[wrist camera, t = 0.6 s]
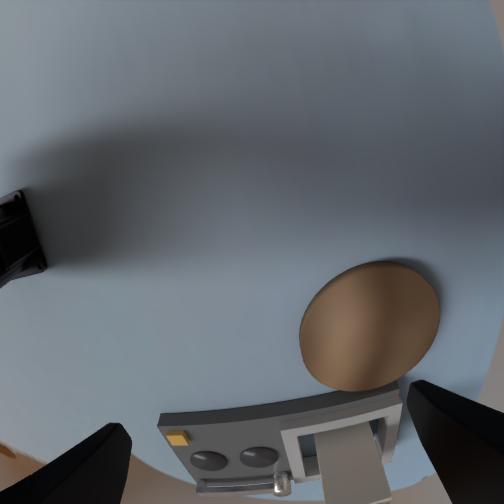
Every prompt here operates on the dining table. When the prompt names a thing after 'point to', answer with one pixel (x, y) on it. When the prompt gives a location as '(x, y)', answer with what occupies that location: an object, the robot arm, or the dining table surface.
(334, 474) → the white carton with cap
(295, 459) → the grey control panel
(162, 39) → the dining table surface
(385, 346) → the disc
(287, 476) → the lever
